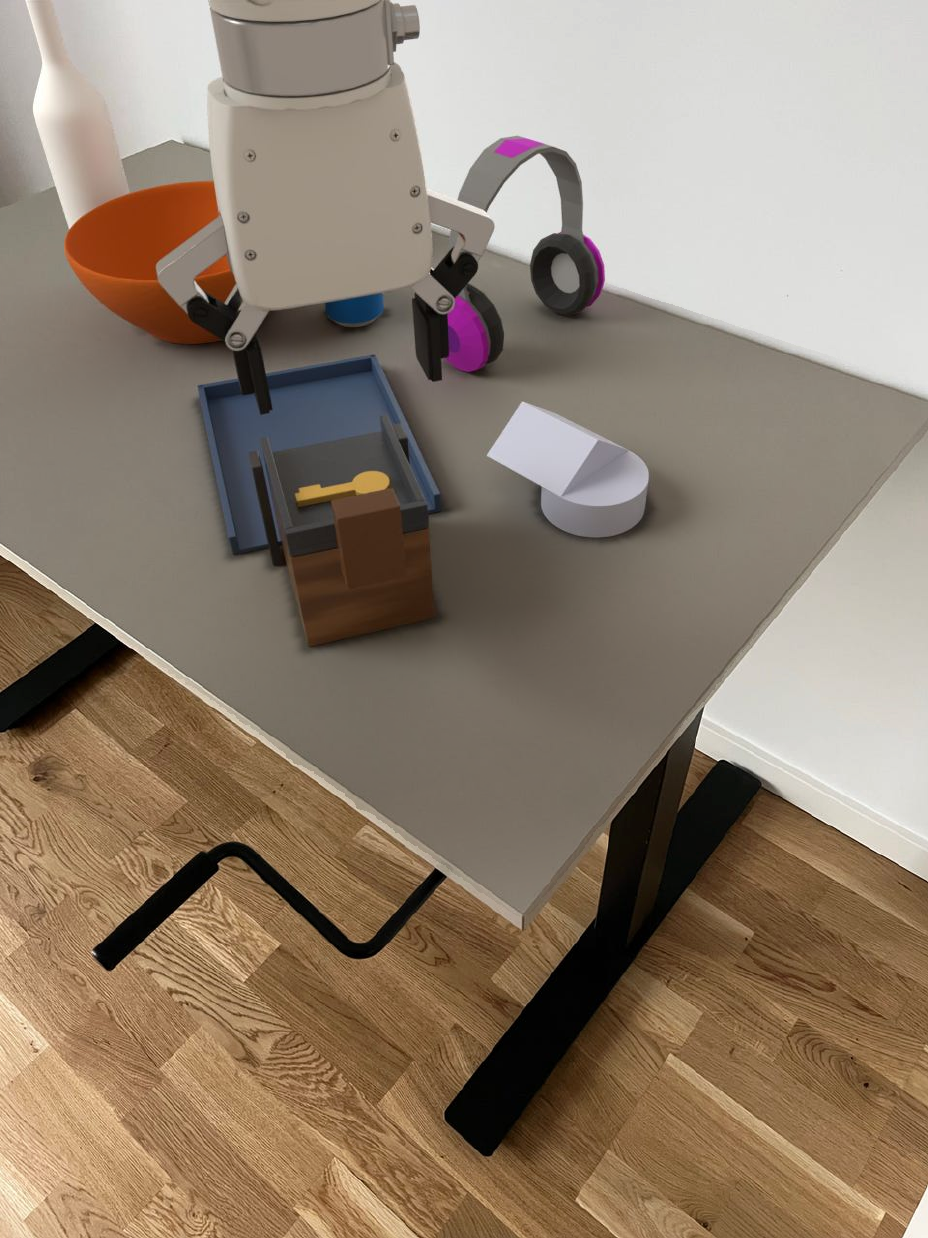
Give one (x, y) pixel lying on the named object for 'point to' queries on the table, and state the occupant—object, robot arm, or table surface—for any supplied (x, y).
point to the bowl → (147, 256)
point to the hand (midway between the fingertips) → (347, 384)
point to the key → (343, 489)
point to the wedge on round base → (574, 472)
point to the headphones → (558, 263)
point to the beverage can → (355, 310)
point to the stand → (324, 587)
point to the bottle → (73, 124)
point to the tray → (296, 431)
